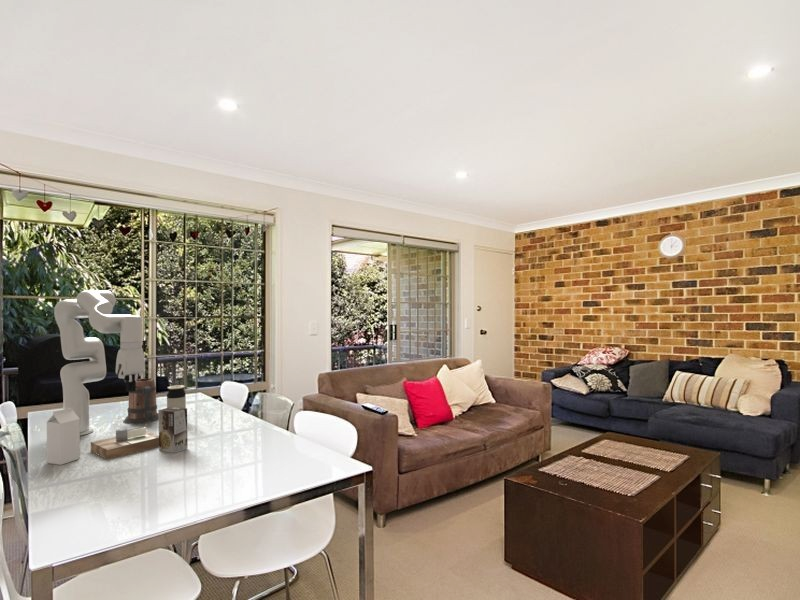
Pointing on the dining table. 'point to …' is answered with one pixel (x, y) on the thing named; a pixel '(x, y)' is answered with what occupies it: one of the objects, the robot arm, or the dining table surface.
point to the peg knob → (129, 433)
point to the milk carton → (63, 437)
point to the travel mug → (176, 396)
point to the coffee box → (173, 429)
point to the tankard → (142, 403)
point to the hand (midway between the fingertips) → (130, 391)
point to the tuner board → (124, 445)
